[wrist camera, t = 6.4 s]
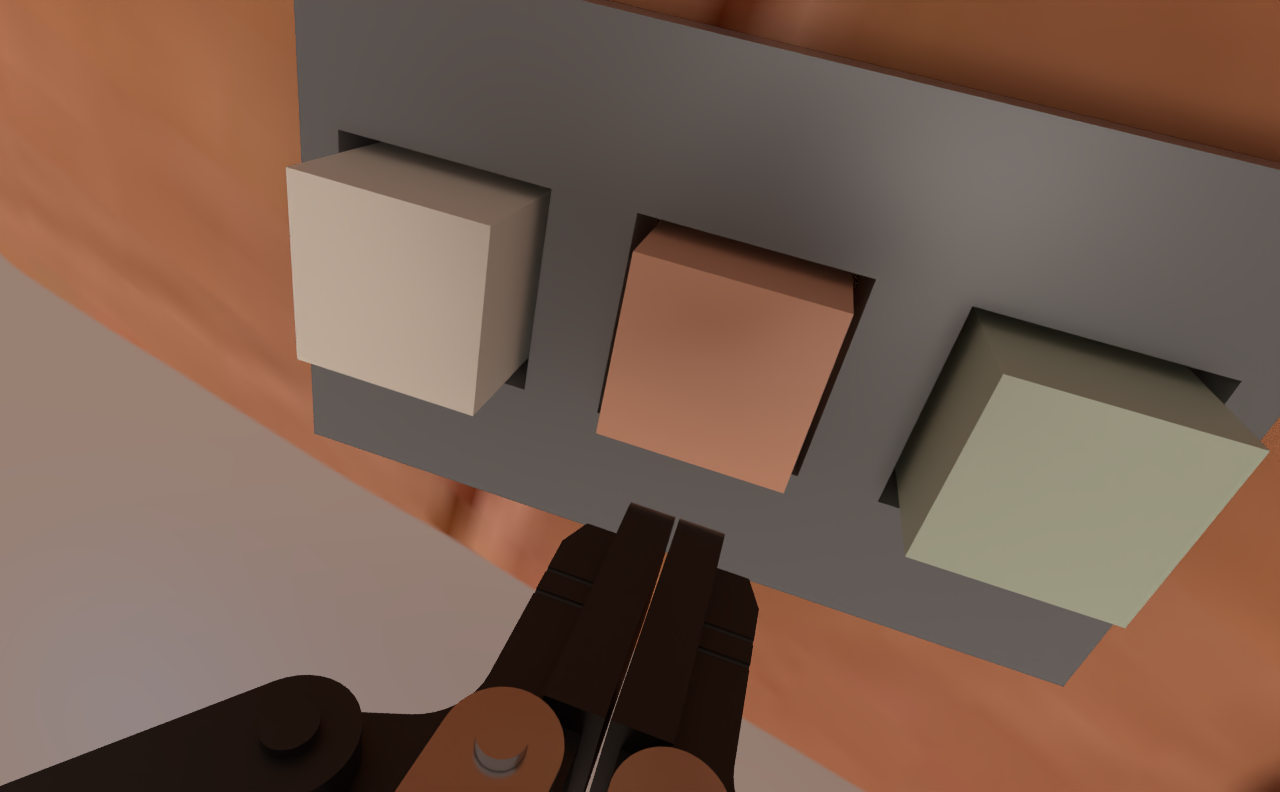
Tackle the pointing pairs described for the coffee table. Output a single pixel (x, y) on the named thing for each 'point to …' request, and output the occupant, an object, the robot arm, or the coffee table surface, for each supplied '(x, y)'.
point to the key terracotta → (723, 352)
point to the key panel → (801, 227)
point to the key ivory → (415, 271)
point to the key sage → (1066, 466)
